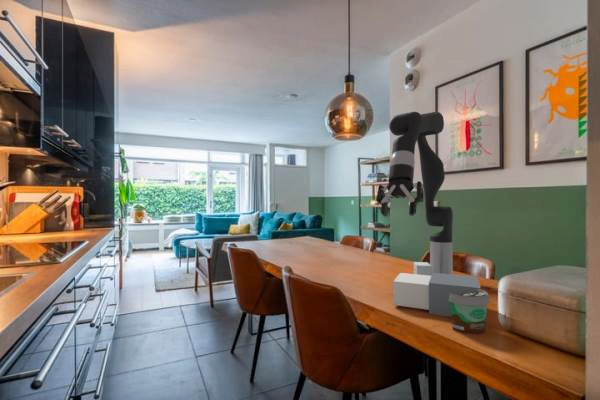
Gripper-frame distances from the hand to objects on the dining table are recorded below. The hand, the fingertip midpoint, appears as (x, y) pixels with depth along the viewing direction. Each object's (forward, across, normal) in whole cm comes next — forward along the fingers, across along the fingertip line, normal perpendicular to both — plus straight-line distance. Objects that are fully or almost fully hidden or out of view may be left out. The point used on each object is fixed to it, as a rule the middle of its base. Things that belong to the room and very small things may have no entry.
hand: (397, 215), depth 95 cm
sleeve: (+24, -11, -26) cm, 37 cm away
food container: (+29, -19, -12) cm, 37 cm away
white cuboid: (+23, -6, -25) cm, 34 cm away
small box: (+18, +4, -42) cm, 46 cm away
